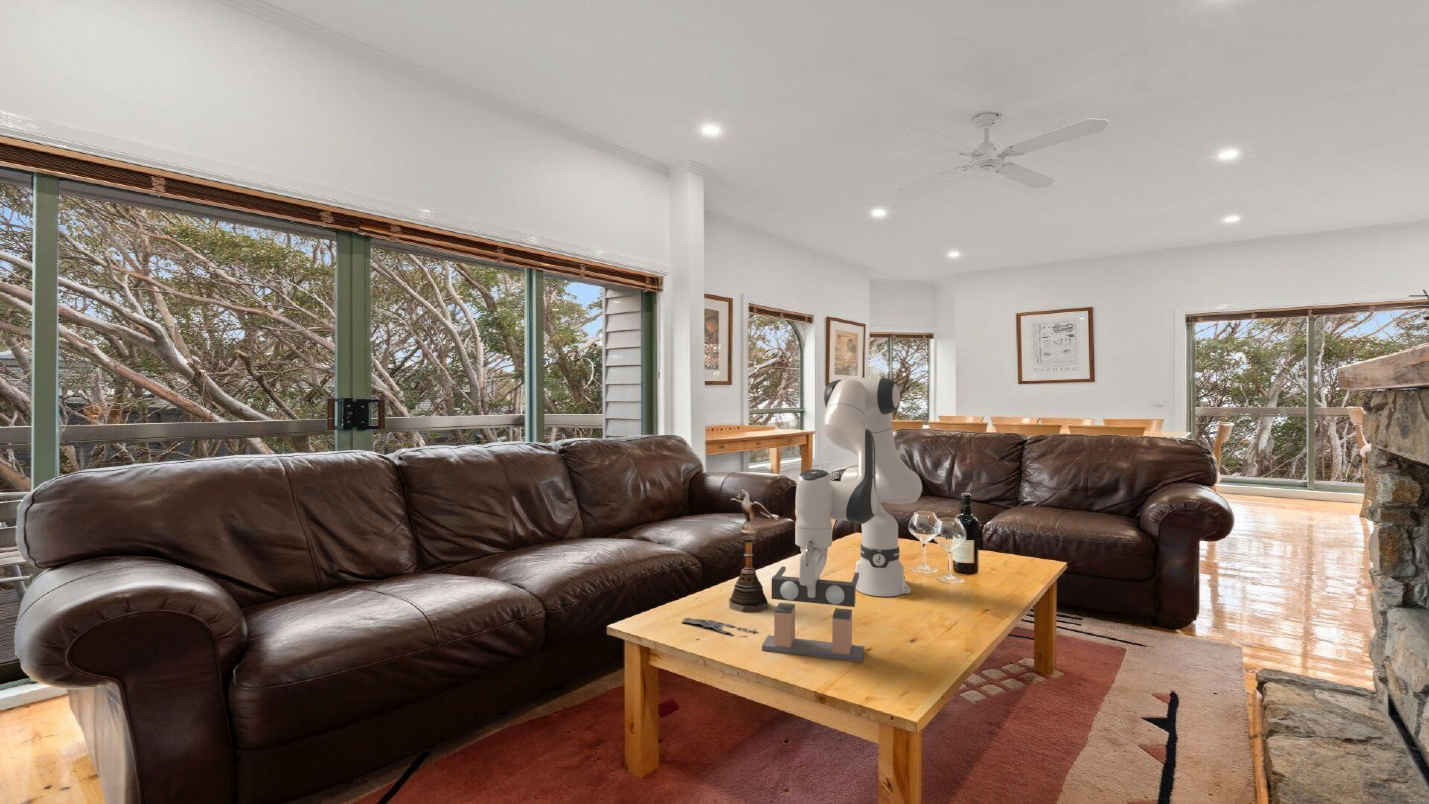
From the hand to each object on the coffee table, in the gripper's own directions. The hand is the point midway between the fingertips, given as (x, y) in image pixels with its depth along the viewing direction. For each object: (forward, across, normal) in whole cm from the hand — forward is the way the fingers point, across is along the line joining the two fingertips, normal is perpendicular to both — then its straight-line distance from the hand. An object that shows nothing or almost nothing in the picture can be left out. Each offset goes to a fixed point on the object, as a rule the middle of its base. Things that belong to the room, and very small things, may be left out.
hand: (813, 594), depth 159 cm
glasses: (+2, +5, 0) cm, 5 cm away
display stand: (+14, 0, 0) cm, 14 cm away
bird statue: (+14, +30, +23) cm, 40 cm away
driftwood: (+15, +8, +27) cm, 32 cm away
